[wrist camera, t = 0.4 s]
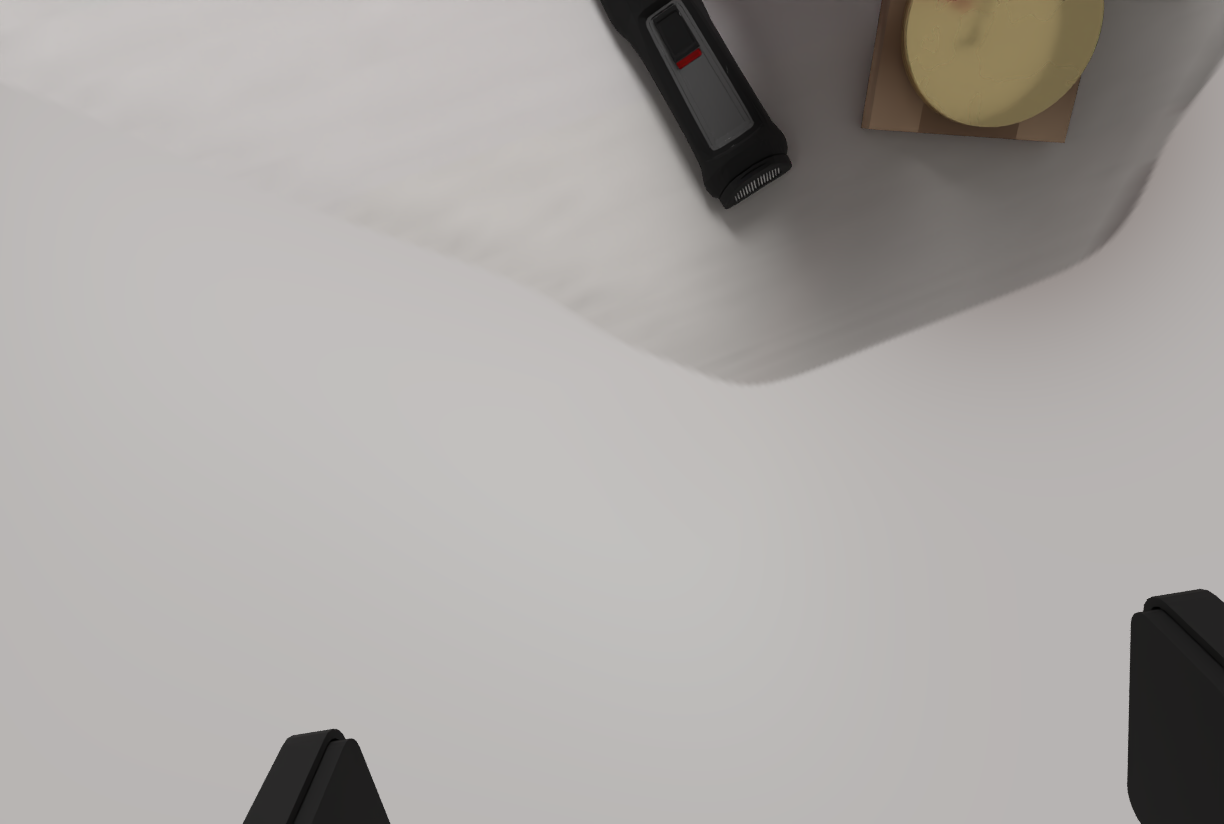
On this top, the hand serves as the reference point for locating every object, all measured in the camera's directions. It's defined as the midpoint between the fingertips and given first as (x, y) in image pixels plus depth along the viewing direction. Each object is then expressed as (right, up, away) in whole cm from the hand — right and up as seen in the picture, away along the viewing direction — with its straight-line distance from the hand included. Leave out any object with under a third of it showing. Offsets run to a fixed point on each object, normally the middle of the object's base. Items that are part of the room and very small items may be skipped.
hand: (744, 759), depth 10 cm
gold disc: (+13, +20, +24) cm, 33 cm away
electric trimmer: (0, +20, +24) cm, 31 cm away
